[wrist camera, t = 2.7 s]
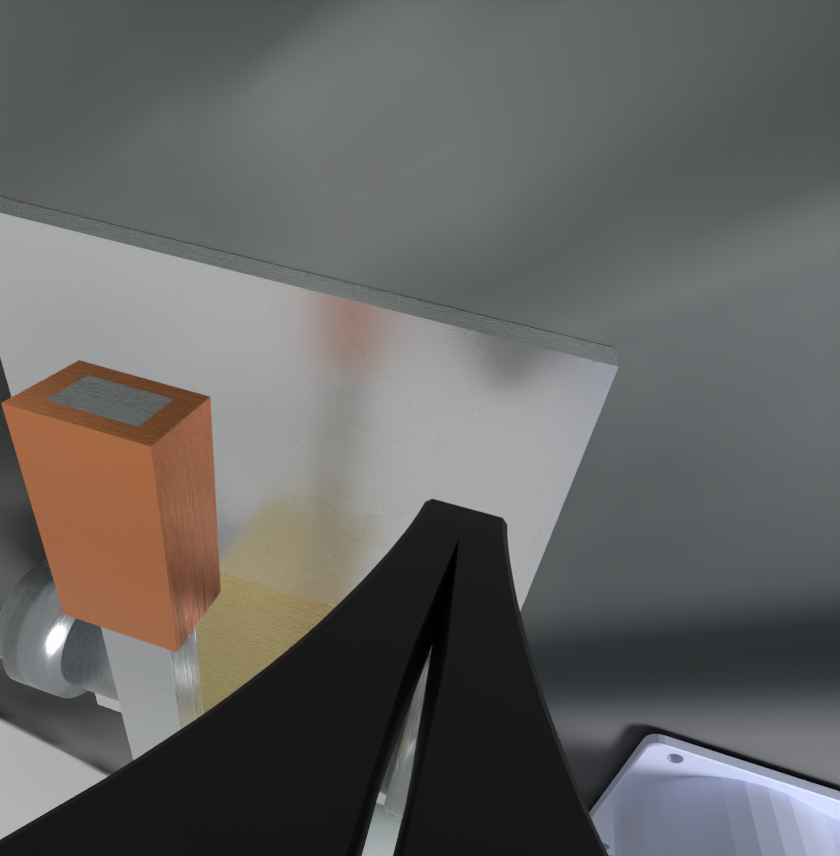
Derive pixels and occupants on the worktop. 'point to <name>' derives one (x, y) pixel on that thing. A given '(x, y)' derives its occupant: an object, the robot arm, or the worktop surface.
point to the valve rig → (291, 431)
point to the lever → (127, 527)
